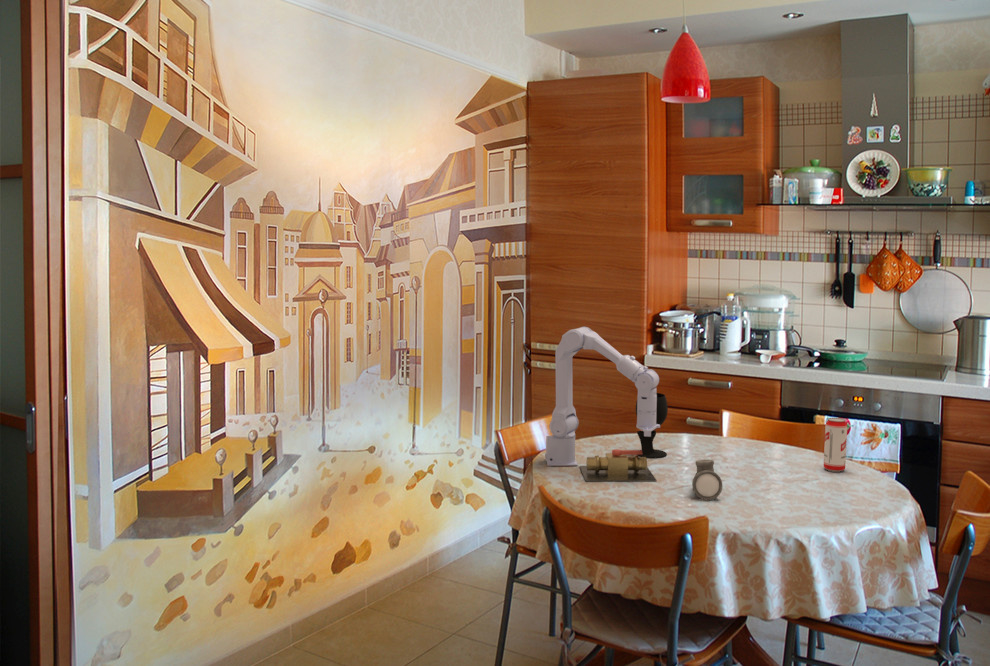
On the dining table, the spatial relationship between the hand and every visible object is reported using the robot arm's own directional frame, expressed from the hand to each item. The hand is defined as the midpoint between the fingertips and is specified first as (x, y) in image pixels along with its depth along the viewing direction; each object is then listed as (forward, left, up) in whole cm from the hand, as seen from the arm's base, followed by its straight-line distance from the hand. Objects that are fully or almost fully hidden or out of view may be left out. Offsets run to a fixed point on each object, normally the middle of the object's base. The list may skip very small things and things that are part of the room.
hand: (646, 454), depth 259 cm
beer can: (+59, +4, -7) cm, 60 cm away
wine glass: (+6, +24, -6) cm, 25 cm away
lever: (-4, +2, 0) cm, 5 cm away
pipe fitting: (+13, -19, -7) cm, 24 cm away
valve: (-9, +2, -6) cm, 11 cm away
